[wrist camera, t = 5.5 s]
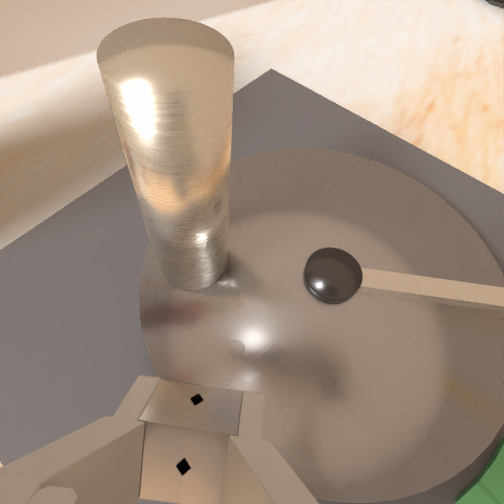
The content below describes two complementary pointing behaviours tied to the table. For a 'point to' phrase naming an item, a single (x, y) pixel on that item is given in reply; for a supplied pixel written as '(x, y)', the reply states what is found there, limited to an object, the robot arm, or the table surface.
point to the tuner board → (129, 276)
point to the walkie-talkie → (496, 3)
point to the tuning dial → (305, 280)
